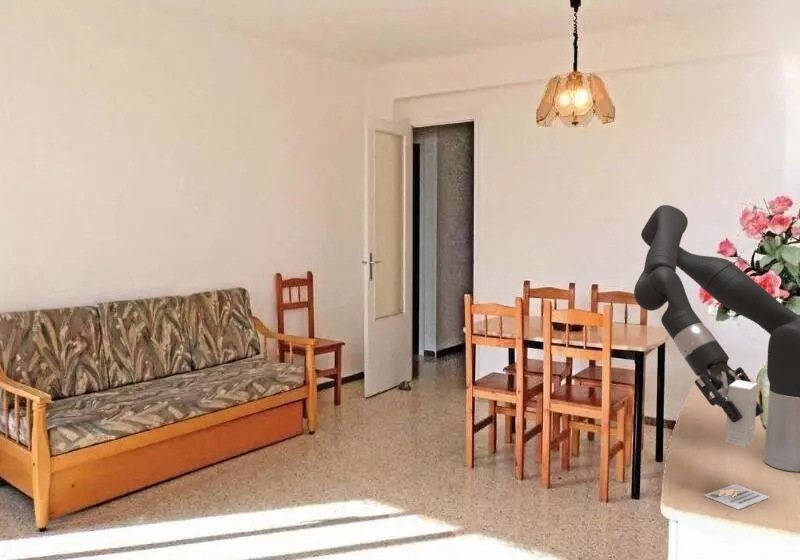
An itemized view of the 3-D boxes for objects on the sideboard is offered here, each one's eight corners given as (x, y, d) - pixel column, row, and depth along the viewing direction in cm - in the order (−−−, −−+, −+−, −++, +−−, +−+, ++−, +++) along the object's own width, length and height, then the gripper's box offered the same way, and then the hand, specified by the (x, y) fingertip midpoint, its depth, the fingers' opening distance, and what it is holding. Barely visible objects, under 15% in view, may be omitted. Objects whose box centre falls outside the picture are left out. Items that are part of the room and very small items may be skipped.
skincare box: (731, 435, 143) (736, 379, 141) (754, 439, 140) (758, 383, 139) (724, 442, 138) (728, 385, 137) (747, 447, 135) (751, 388, 134)
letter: (735, 484, 146) (735, 484, 146) (769, 497, 140) (769, 496, 140) (703, 496, 140) (703, 495, 140) (738, 510, 134) (738, 509, 134)
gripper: (708, 355, 152) (755, 421, 143) (667, 362, 144) (714, 432, 136) (732, 336, 147) (782, 403, 138) (691, 342, 139) (741, 413, 131)
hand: (748, 417), depth 137 cm, fingers closed on skincare box, 7 cm apart
